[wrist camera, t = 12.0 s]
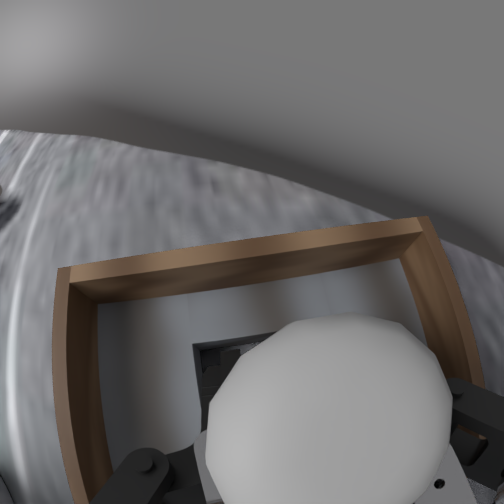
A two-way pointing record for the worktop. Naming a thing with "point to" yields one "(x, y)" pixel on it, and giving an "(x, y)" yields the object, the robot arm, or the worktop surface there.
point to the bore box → (227, 326)
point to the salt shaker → (330, 416)
